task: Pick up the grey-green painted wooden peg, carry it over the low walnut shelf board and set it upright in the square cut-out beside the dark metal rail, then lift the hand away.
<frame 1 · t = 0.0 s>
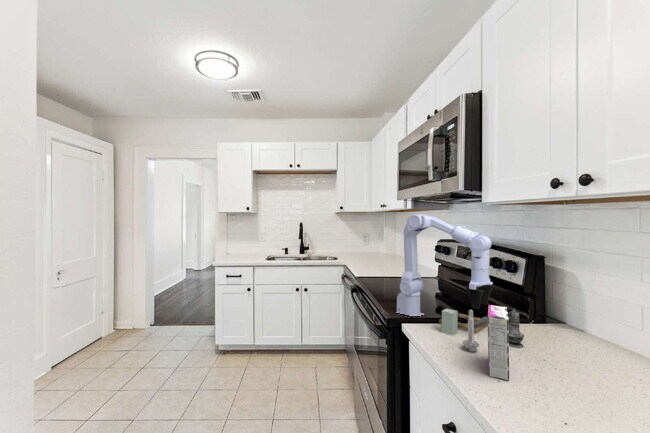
hand: (480, 306, 107), 10 cm above the worktop, tool pointing down, fingers open, 7 cm apart
screw: (470, 350, 94), on the worktop
candy bar box: (497, 370, 82), on the worktop
grey chess piece: (513, 345, 99), on the worktop
peg: (449, 332, 109), on the worktop
metal rail: (480, 328, 113), resting on shelf board
shelf board: (464, 323, 117), on the worktop
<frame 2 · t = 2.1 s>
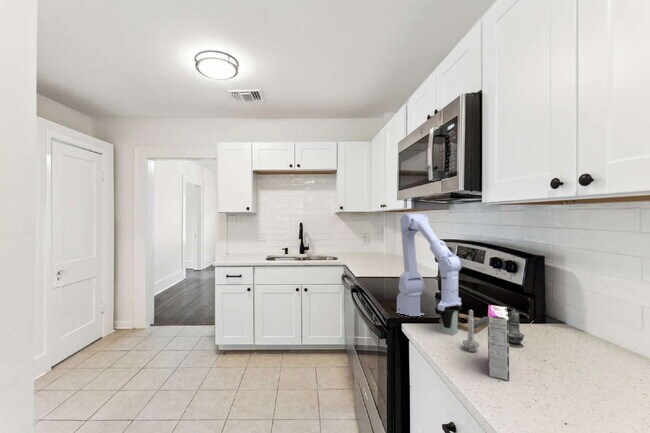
hand: (449, 326, 109), 2 cm above the worktop, tool pointing down, fingers closed on peg, 4 cm apart
peg: (449, 332, 109), on the worktop, touching gripper
everything else where it was.
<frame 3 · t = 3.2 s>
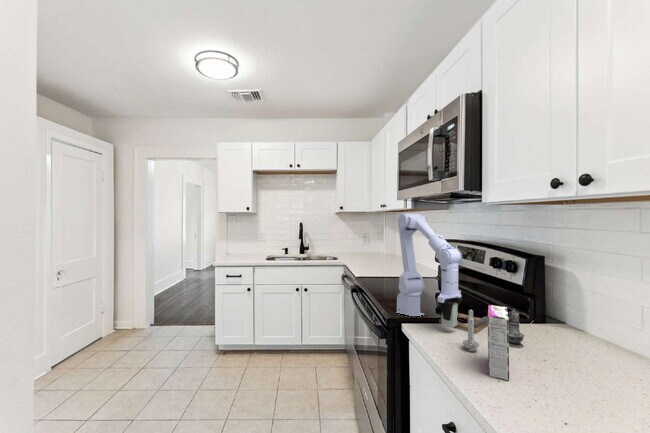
hand: (449, 318, 109), 5 cm above the worktop, tool pointing down, fingers closed on peg, 4 cm apart
peg: (449, 324, 109), point 3 cm above the worktop, touching gripper
everything else where it was.
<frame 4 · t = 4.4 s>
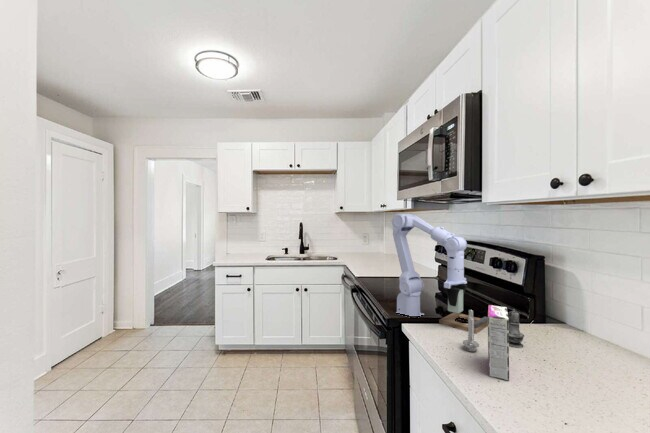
hand: (455, 304, 112), 9 cm above the worktop, tool pointing down, fingers closed on peg, 4 cm apart
peg: (455, 310, 112), point 7 cm above the worktop, touching gripper
everything else where it was.
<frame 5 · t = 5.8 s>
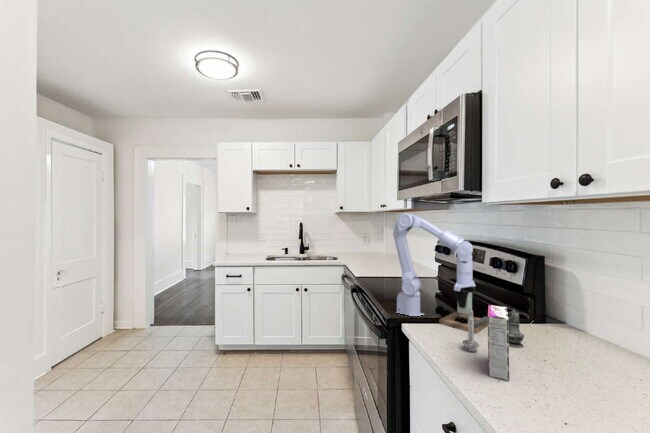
hand: (464, 306, 117), 7 cm above the worktop, tool pointing down, fingers closed on peg, 4 cm apart
peg: (464, 312, 117), point 5 cm above the worktop, touching gripper
everything else where it was.
when the fingers open (3 cm above the worktop, at t = 7.0 s): peg drops 1 cm, resting in shelf board.
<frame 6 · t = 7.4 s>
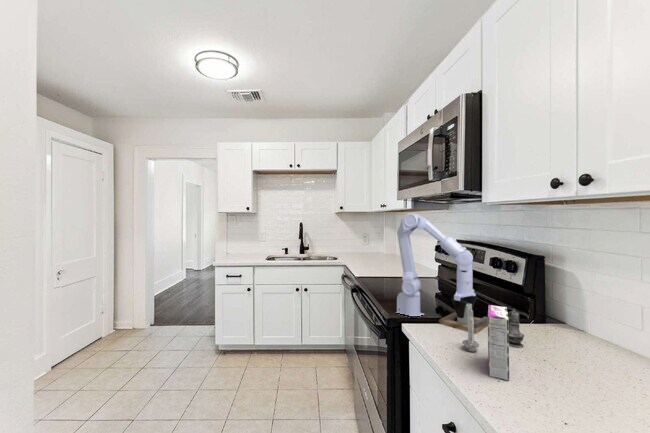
hand: (464, 315, 117), 3 cm above the worktop, tool pointing down, fingers open, 7 cm apart
peg: (464, 324, 117), resting in shelf board
everything else where it was.
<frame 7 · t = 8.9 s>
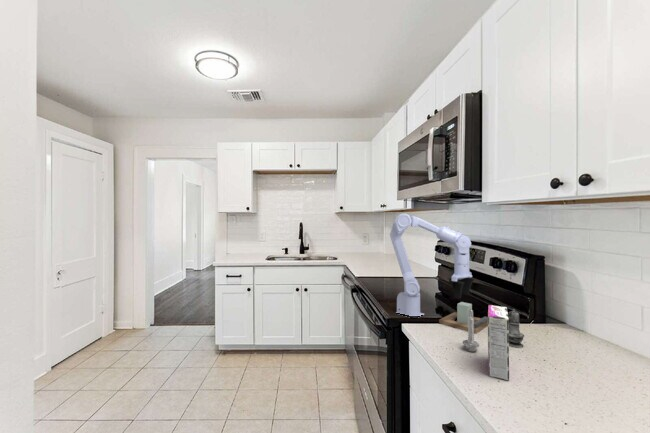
hand: (461, 296, 123), 9 cm above the worktop, tool pointing down, fingers open, 7 cm apart
nothing on the worktop moved.
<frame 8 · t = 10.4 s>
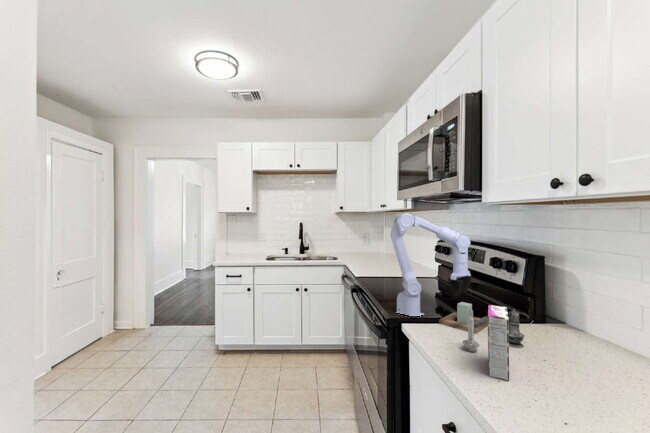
hand: (460, 294, 126), 9 cm above the worktop, tool pointing down, fingers open, 7 cm apart
nothing on the worktop moved.
at the end: peg 0.0 cm off-centre on the shelf board, point 0.0 cm above the shelf board's base; peg tilted 0°; the gripper is holding nothing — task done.
